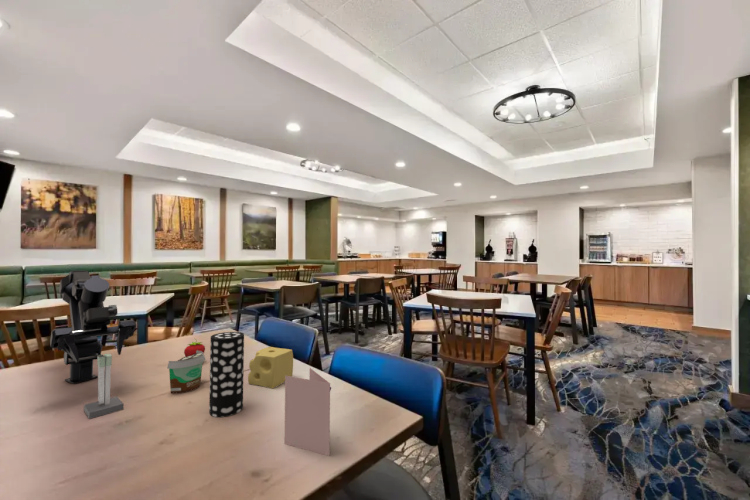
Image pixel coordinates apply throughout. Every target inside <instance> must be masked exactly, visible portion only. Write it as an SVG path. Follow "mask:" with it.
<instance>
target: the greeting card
mask: <svg viewBox="0 0 750 500" xmlns="http://www.w3.org/2000/svg"><path fill="white" fill-rule="evenodd" d="M284 383H285V384H284V386H285V387H284V438H283V439H284V441H283V444H284V445H289V446H291V447H295V448H299V449H302V450H303V449H304V450H306V451H309V452H314V453H317V454H321V455H324V456H328V457H329V456H330V433H331V431H330V428H331V425H330V423H331V416H330V415H331V391H332V390H331V389H332V387H331V383H330V382H329V381H328V380H326V379H325V378H324V377H322V376H321V375H320V374H319V373H317V372H316V371H315V370H314V369H312V368H311V367H309V379H308V378H303V377H297V376H296V377H295V376H292V377H291V376H285V382H284Z"/></svg>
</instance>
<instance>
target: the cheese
mask: <svg viewBox="0 0 750 500" xmlns="http://www.w3.org/2000/svg"><path fill="white" fill-rule="evenodd" d="M248 368H249V370H250V372H248V376H247V381H248V385H252V384H253V385H254V386H258V385H259V386H260V387H264V388H269V389H275V388H277V387H278V386H280V385H281V383H282V384H283V382H284V381H285V376H291V377H293V371H294V352H293V349H289V348H282V347H281V348H280V347H274V346H268V347H264V348H261V349H259V350H257V351H256V353H255V356H254V358H253V359H251V360H249V366H248ZM284 383H285V382H284ZM276 386H277V387H276ZM274 387H275V388H274Z"/></svg>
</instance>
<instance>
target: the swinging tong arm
mask: <svg viewBox="0 0 750 500" xmlns="http://www.w3.org/2000/svg"><path fill="white" fill-rule="evenodd" d="M96 361H97V376H98V377H97V401H98V404H99V405H100V404H103V403H104V375H105V356H104V354H101V355H99V356H97V359H96Z"/></svg>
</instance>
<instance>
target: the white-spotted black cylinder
mask: <svg viewBox="0 0 750 500" xmlns="http://www.w3.org/2000/svg"><path fill="white" fill-rule="evenodd" d="M209 343H210V345H209V346H210V347H209V349H210V352H209V355H210V356H209V357H210V358H209V359H210V360H209V402H208V403H209V405H208V406H209V407H208V408H209V409H208V410H209V411H208V412H209V415H210V416H212V417H215V418H225V417H230V416H233V415H236V414H238V413H240V412H241V411H242V410H243V408H244V378H245V377H244V375H245V374H244V370H245V368H244V366H245V365H244V363H245V360H244V359H245V355H244V354H245V333H244V332H240V331H226V332H225V331H224V332H219V333H215V334H212V335H210V341H209Z"/></svg>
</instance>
